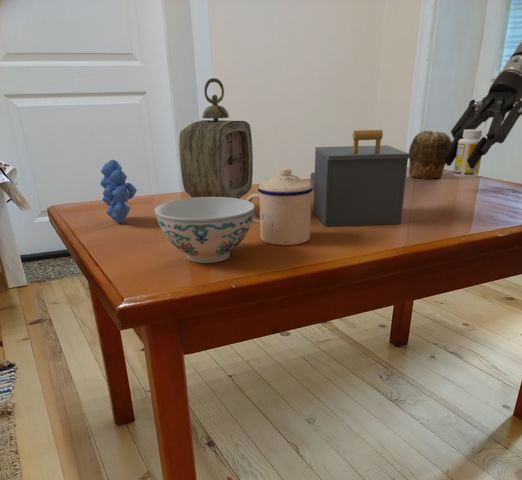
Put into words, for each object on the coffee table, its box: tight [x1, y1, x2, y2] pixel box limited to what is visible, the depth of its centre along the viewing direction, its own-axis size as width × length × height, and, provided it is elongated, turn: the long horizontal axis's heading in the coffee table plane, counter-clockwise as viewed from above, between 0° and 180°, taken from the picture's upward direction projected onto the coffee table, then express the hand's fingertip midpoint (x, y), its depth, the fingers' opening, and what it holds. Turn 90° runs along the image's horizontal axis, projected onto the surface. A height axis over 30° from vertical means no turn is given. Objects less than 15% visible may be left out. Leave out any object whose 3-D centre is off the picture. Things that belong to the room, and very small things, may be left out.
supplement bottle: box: [453, 128, 483, 179], centre depth 119 cm, size 6×6×10 cm
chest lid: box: [314, 129, 410, 161], centre depth 95 cm, size 13×15×5 cm
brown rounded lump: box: [408, 130, 452, 180], centre depth 139 cm, size 11×11×12 cm
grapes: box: [99, 159, 138, 224], centre depth 98 cm, size 12×7×12 cm, turn 30°
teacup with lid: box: [246, 167, 313, 246], centre depth 86 cm, size 12×9×12 cm
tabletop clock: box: [178, 77, 254, 199], centre depth 100 cm, size 14×9×25 cm, turn 155°
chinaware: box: [154, 197, 256, 264], centre depth 78 cm, size 15×15×8 cm
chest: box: [312, 151, 409, 227], centre depth 99 cm, size 13×15×12 cm
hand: (458, 163), depth 118 cm, fingers closed on supplement bottle, 6 cm apart
